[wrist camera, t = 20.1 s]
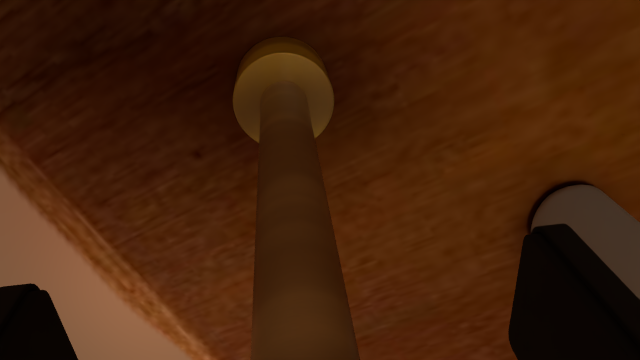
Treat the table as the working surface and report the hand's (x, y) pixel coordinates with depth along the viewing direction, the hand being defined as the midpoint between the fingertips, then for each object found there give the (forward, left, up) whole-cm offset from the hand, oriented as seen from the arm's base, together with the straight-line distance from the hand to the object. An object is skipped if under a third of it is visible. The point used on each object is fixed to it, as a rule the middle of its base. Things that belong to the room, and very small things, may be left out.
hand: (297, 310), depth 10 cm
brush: (0, 0, -16) cm, 16 cm away
